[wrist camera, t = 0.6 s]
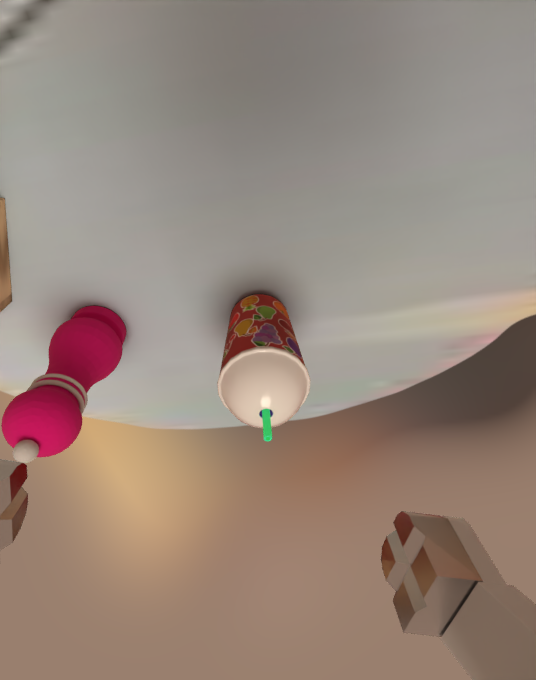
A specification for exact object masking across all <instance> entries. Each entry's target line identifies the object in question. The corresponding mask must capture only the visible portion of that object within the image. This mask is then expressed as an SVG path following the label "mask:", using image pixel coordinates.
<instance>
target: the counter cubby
mask: <svg viewBox="0 0 536 680" xmlns="http://www.w3.org/2000/svg"><path fill="white" fill-rule="evenodd" d="M11 302H12V294H11V280H10V266H9V252H8V238H7V225H6V211H5V199H4V198H0V312H1V311H2V310H3V309H4V308H5V307H6V306H7V305H9V304H10V303H11Z"/></svg>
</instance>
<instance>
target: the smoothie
mask: <svg viewBox="0 0 536 680" xmlns="http://www.w3.org/2000/svg"><path fill="white" fill-rule="evenodd" d="M217 383H218V395H219V397H220V399H221V400H222V402H223V404H224V405H225V406H226V407H227V408H228V409H229V410H230V412H231V413H232V414H233V415H234V416H235V417H236V418H237V419H239V420H240V421H241V422H243V423H245V424H247V425H249V426H254V427H258V428H263V433H264V434H263V435H264V440H265V441H271V440H272V430H271V427H275V426H279V425H281V424H283V423H284V422H286V421H288V420H289V419H290V418H291V417H292V416H293V415H294V414H295V413H296V412H297V411H298V410H299V408H300V406H301V405H302V404H303V403H304V402H305V400H306V398H307V396H308V394H309V391H310V377H309V374H308V371H307V368H306V367H305V364H304V361H303V358H302V355H301V352H300V349H299V346H298V343H297V340H296V337H295V334H294V331H293V328H292V325H291V322H290V319H289V316H288V313H287V311H286V308H285V307H284V306H283V304H282V303H281V302H280V301H279V300H277V299H275V298H274V297H272V296H268V295H263V294H254V295H251V296H248V297H246V298H244V299H242V300H241V301H240V302H238V303H237V304H236V306H235V307H234V308H233V310H232V313H231V316H230V321H229V327H228V332H227V338H226V343H225V349H224V354H223V360H222V365H221V370H220V376H219V379H218V382H217Z"/></svg>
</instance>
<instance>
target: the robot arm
mask: <svg viewBox="0 0 536 680" xmlns="http://www.w3.org/2000/svg"><path fill="white" fill-rule="evenodd" d="M26 479H27V465H26V464H24V463H22V462H14V461H8V460H2V459H0V550H2V549H3V548H5V547H7V546H8V545H10V544H11V543H13V541H14V539H15V538H16V536H17V534H18V532H19V530H20V529H21V526H22V523H23V520H24V518H25V515H26V511H27V505H28V493H27V492H26V491H25V490H24V489H23V488H22V485H23V484H24V482H25V480H26ZM393 523H394V526H395V528H396V530H395V531H394V532H392V533H391V534H389V535H388V536H386V539H385V541H384V544H383V546H382V553H381V554H382V555H381V562H382V569H383V573H384V576H385V579H386V581H387V582H388V583H389V584H390V585H391V586H392V588H393V589H394V590H395V591H396V592H395V595H394V598H393V603H394V606H395V609H396V612H397V615H398V618H399V621H400V624H401V627H402V630H403V632H404V633H411V634H420V635H429V636H437V637H441V641H442V642H443V643H444V644H445V646H446V647H447V648H448V650H449V651H450V652H451V653H452V655H453V656H454V657H455V658H456V660H457V661H458V662H459V663H460V665H461V666H462V667H463V669H464V670H465V671H466V672H467V674H468V675H469V676H470V677H471V679H472V680H536V604H535V603H533V602H532V601H531V600H530V599H529V598H527V597H526V596H525V595H524V594H523V593H522V592H520V591H519V590H518V589H517V588H516V587H514V586H512V585H507V584H506V582H505V581H504V579H503V578H502V576H501V574H500V573H499V571H498V569H497V568H496V566H495V564H494V563H493V561H492V560H491V558H490V556H489V555H488V553H487V551H486V550H485V548H484V547H483V545H482V543H481V542H480V540H479V538H478V537H477V535H476V533H475V532H474V530H473V529H472V527H471V525H470V524H469V523H468V522H467V521H466V520H465V519H464V518H457V517H449V516H439V515H431V514H422V513H414V512H406V511H402V512H400V513H399V514H398V515H397V516H396V518H395V520H394V522H393Z"/></svg>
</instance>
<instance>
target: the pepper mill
mask: <svg viewBox="0 0 536 680" xmlns="http://www.w3.org/2000/svg"><path fill="white" fill-rule="evenodd" d="M125 337H126V328H125V325H124V323H123V321H122V320H121V318H120V317H119V316H118V315H117V314H116V313H114V312H113V311H111V310H109V309H107V308H105V307H100V306H87V307H84V308H82V309H80V310H78V311H77V312H76V313H75V314H74V316H73V317H72V318H71V320H68V321H66V322H64V323H63V324H62V325H60V326H59V328H58V329H57V330H56V332H55V333H54V335H53V337H52V339H51V342H50V346H49V366H48V370H47V372H46V374H45V375H42V376H40V377H38V378H37V379H35V380H34V381H33V383H32V384H31V386H30V387H29V388H28V390H27V391H26V392H24V393H21V394H20V395H18V396H17V397H15V398H14V399H13V401H12V402H11V403H10V404H9V405H8V407H7V408H6V410H5V412H4V415H3V418H2V431H3V434H4V437H5V439H6V441H7V442H8V443H9V444H10V445H11V446H12V447H13V448H14V449H13V456H14V459H15V460H16V461H18V462H22V463H28V462H31V461H33V460H34V459H35V458H36V457H46V456H47V457H48V456H52V455H55V454H58V453H60V452H62V451H63V450H65V449H66V448H68V447H69V446H70V445H71V444H72V443H73V442H74V440H75V439H76V438H77V436H78V434H79V432H80V430H81V426H82V415H81V414H82V413H83V411H84V408H85V407H86V405H87V401H88V398H87V392H88V390H89V389H90V387H91V386H92V385H93V384H95V383H96V382H98V381H100V380H102V379H104V378H106V377H107V376H108V375H109V374H110V373H111V372H113V371H114V369H115V368H116V367H117V365H118V363H119V361H120V359H121V356H122V344H123V342H124V340H125Z"/></svg>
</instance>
